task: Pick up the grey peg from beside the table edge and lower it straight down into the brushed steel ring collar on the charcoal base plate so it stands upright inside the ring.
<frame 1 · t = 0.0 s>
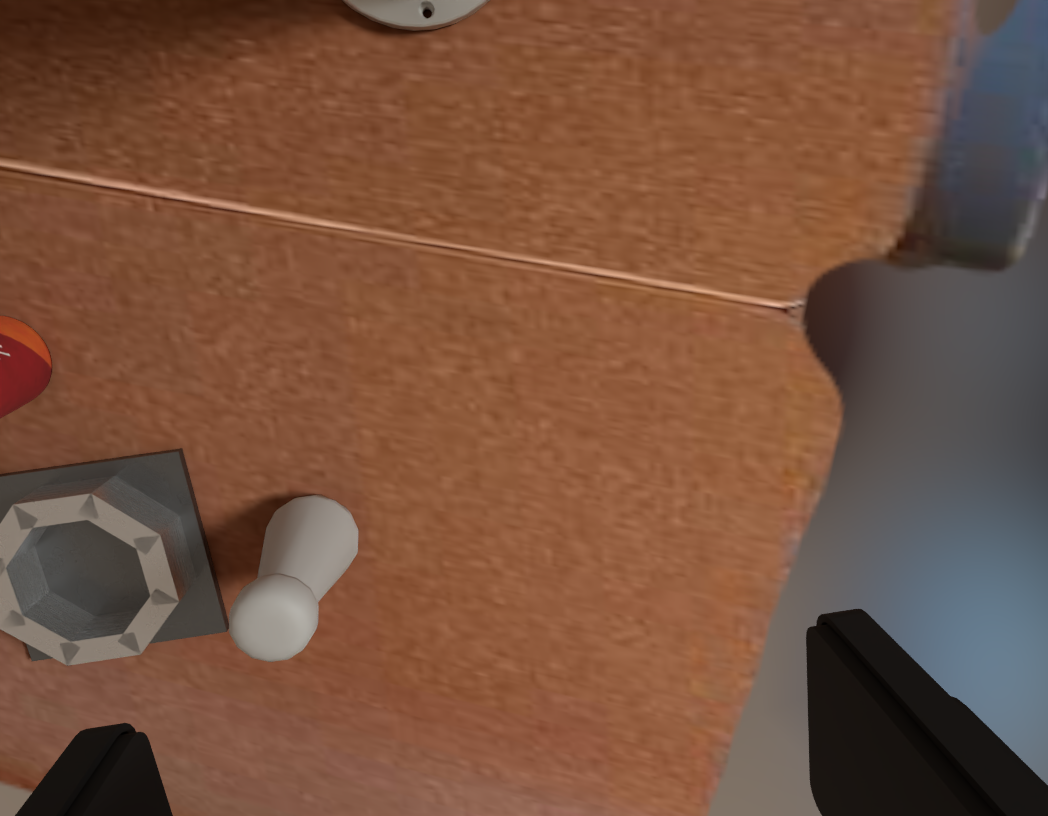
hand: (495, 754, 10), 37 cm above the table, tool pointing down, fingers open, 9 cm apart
ring collar: (107, 555, 47), on the table
paper cup: (5, 359, 44), on the table
grey peg: (320, 522, 48), on the table
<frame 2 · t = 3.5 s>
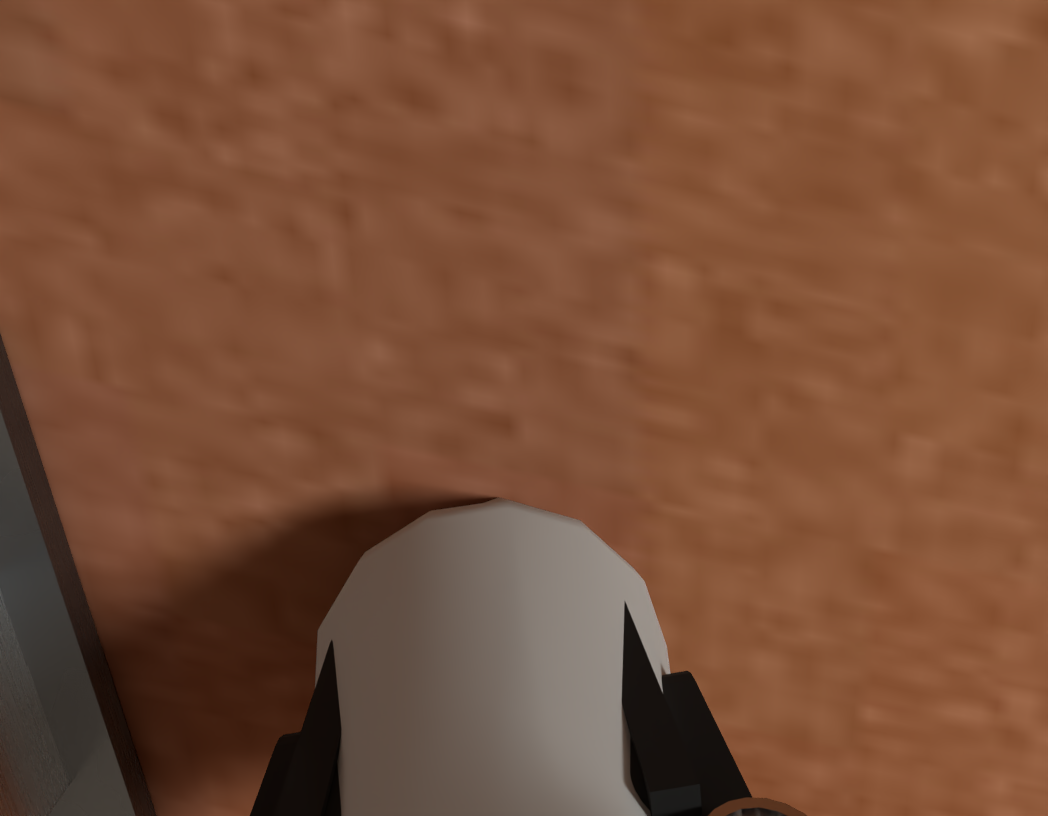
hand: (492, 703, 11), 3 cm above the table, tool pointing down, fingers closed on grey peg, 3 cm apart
grey peg: (488, 591, 14), on the table, touching gripper
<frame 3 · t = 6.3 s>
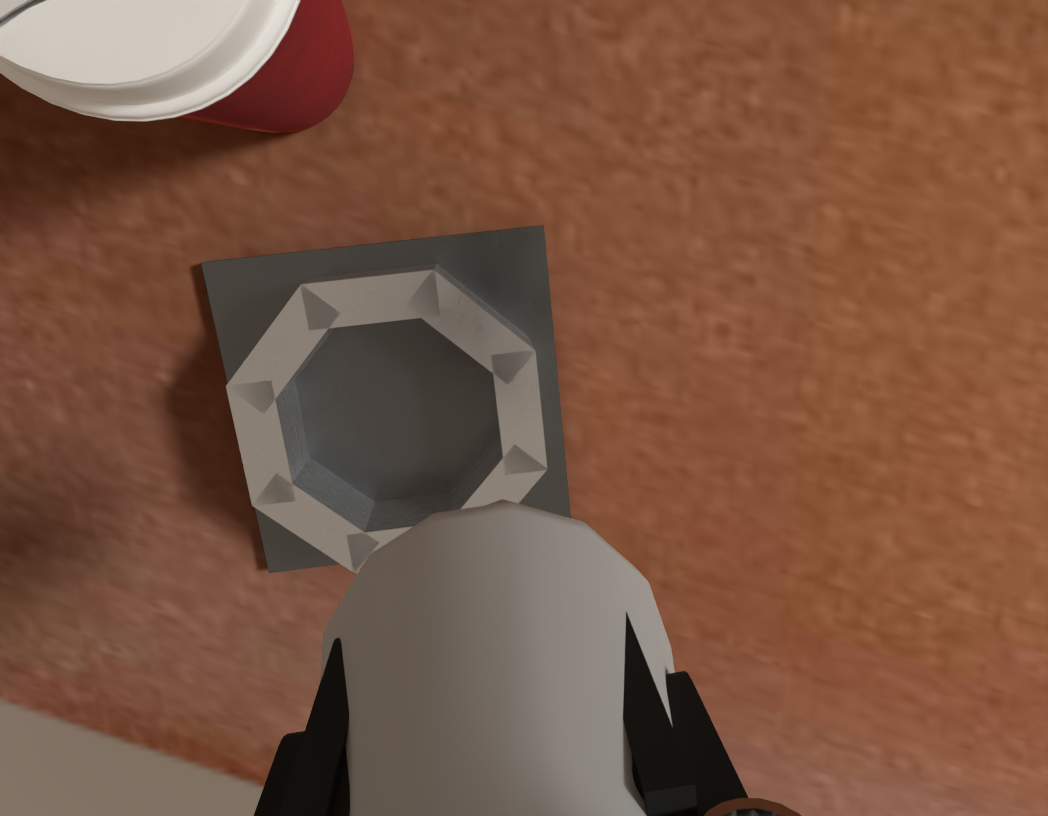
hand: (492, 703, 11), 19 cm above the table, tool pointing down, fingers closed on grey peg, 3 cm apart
ring collar: (400, 404, 30), on the table
paper cup: (276, 52, 26), on the table
grey peg: (492, 593, 14), point 16 cm above the table, touching gripper
when the fingers open (4 cm above the table, at t = 9.0 s): grey peg stays where it is, resting on ring collar.
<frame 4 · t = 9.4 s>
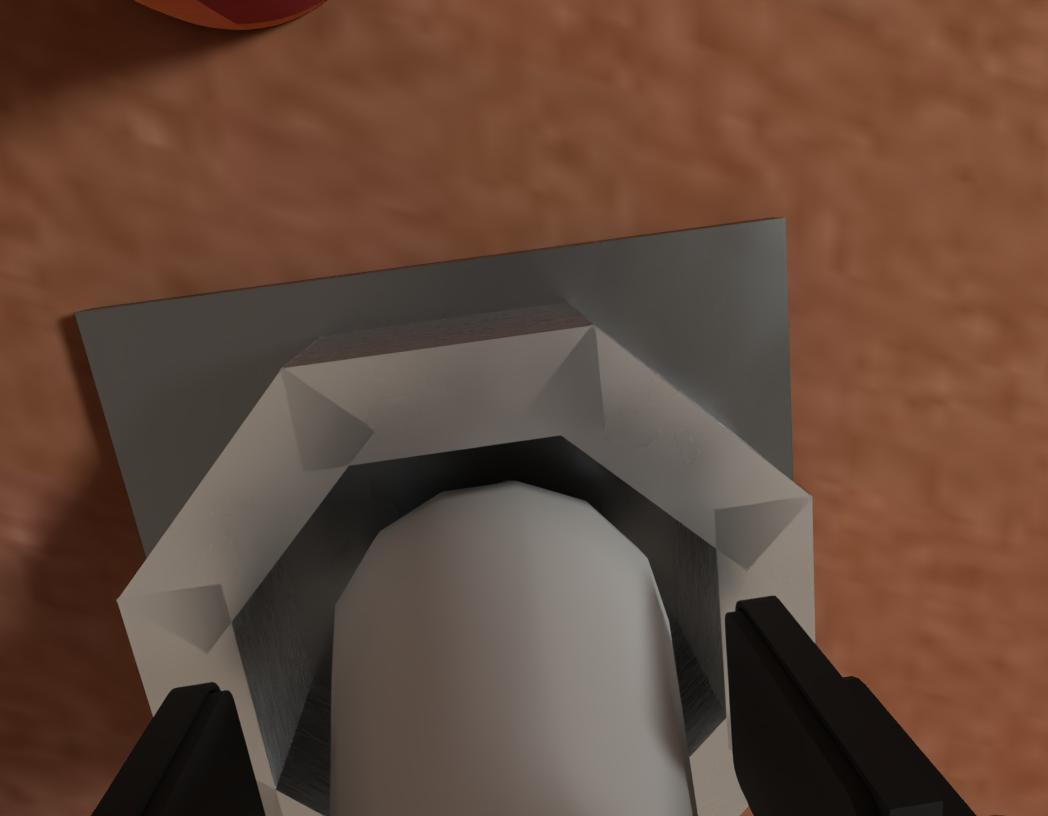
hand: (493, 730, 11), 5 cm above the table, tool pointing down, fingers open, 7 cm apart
ring collar: (485, 569, 15), on the table
grey peg: (496, 572, 15), resting on ring collar
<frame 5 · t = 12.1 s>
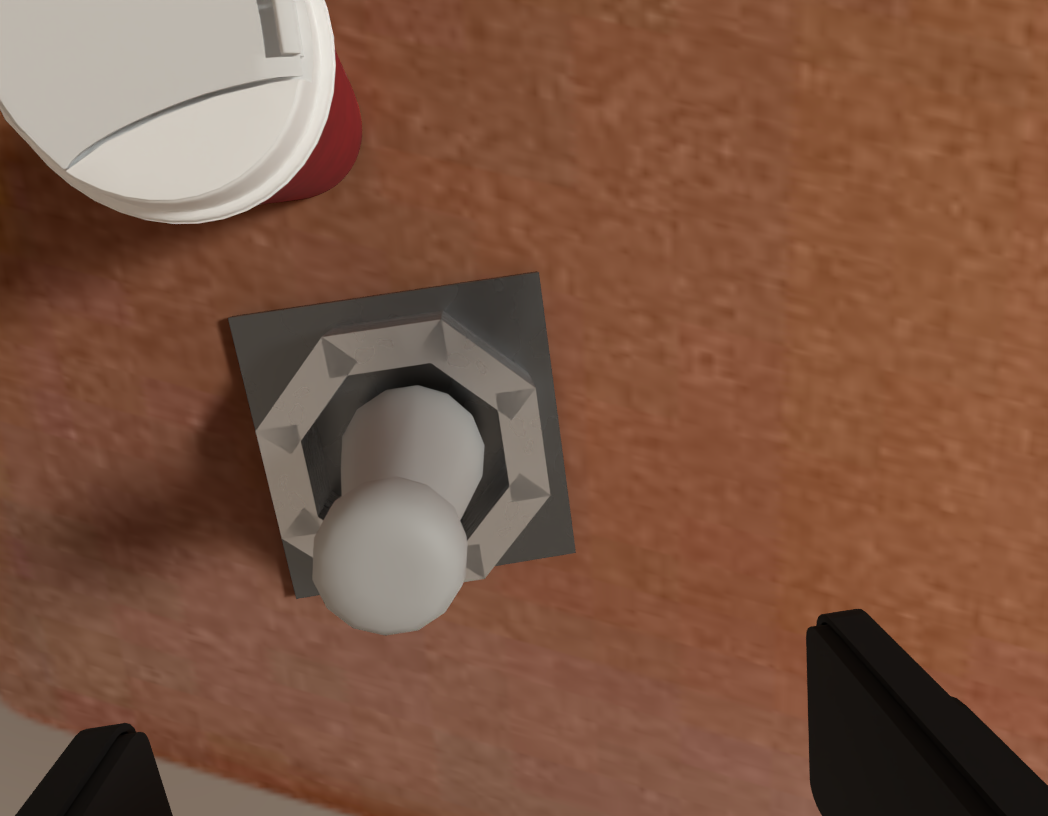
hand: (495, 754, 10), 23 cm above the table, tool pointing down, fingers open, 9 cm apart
ring collar: (413, 438, 32), on the table
paper cup: (291, 127, 29), on the table
grey peg: (417, 437, 32), resting on ring collar
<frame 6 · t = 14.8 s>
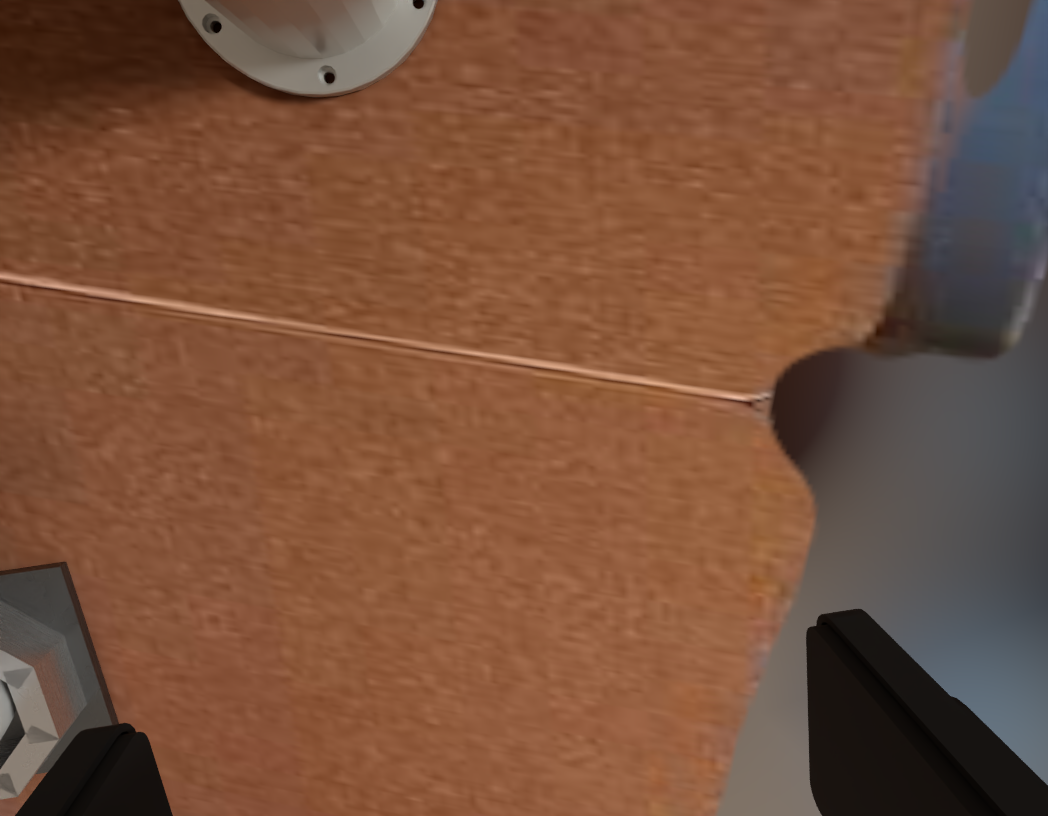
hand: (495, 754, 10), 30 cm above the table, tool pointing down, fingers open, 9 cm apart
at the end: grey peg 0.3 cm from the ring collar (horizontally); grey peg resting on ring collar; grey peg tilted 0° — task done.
